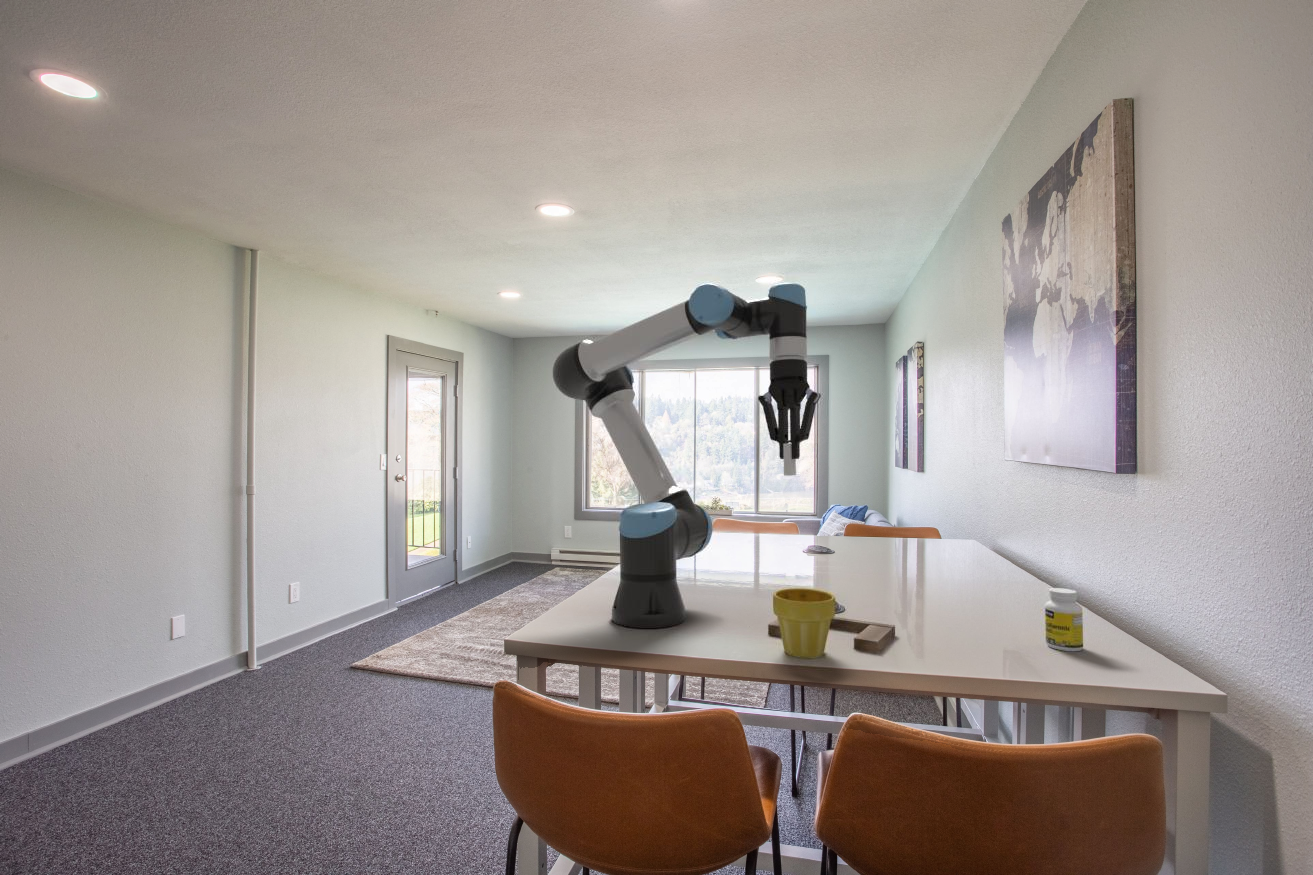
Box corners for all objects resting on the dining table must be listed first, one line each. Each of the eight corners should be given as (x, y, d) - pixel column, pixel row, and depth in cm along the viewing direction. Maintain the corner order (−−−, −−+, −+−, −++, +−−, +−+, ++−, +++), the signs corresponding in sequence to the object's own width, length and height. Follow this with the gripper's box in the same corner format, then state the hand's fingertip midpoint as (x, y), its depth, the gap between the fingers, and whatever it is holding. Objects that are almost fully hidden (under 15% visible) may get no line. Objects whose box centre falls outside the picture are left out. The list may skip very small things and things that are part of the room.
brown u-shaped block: (768, 633, 115) (768, 624, 115) (792, 619, 125) (792, 610, 125) (877, 652, 104) (877, 641, 104) (895, 635, 114) (895, 625, 114)
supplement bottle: (1038, 644, 108) (1037, 588, 108) (1059, 640, 110) (1057, 585, 110) (1070, 653, 103) (1068, 594, 103) (1090, 649, 105) (1089, 591, 105)
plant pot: (839, 663, 99) (838, 602, 99) (774, 660, 100) (773, 600, 101) (832, 644, 109) (831, 588, 109) (773, 641, 111) (772, 586, 111)
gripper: (825, 359, 126) (827, 475, 125) (766, 365, 133) (767, 474, 132) (812, 355, 120) (814, 476, 119) (751, 361, 127) (752, 475, 126)
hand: (789, 475), depth 126 cm, fingers closed
